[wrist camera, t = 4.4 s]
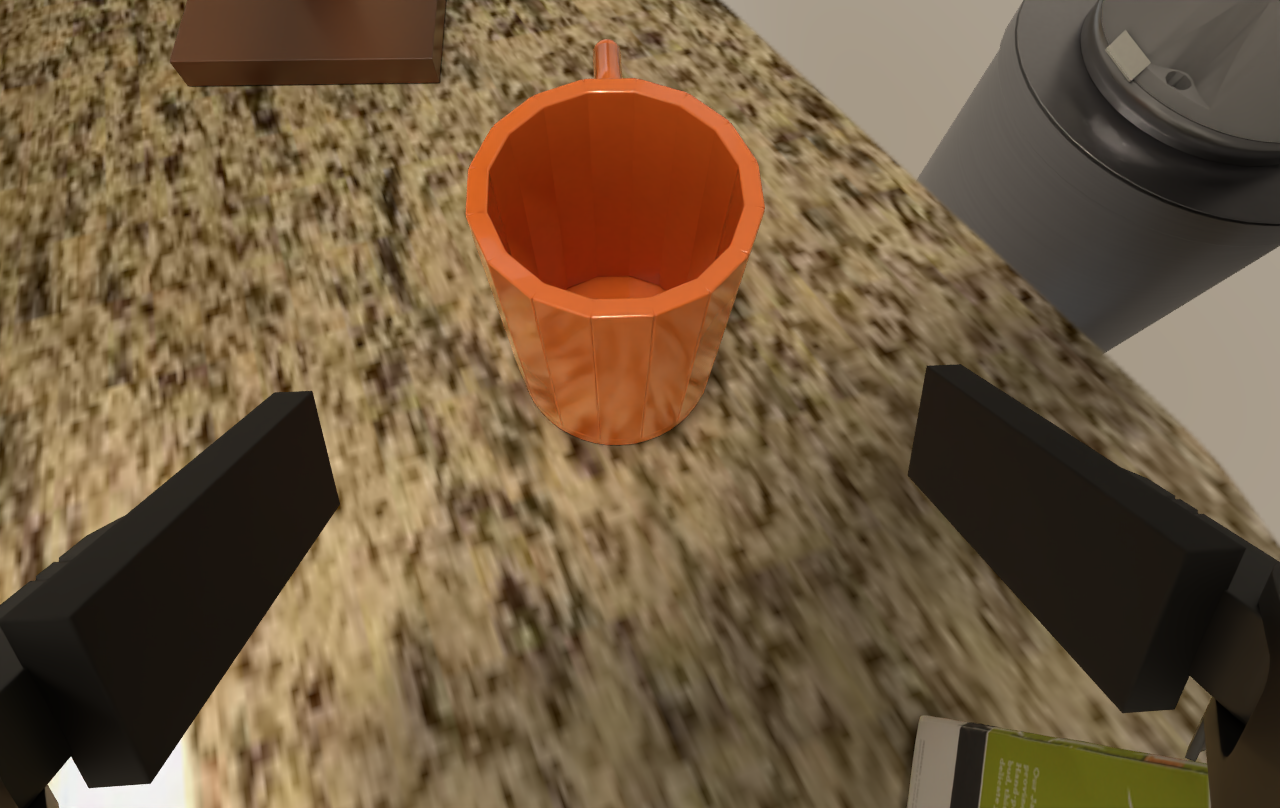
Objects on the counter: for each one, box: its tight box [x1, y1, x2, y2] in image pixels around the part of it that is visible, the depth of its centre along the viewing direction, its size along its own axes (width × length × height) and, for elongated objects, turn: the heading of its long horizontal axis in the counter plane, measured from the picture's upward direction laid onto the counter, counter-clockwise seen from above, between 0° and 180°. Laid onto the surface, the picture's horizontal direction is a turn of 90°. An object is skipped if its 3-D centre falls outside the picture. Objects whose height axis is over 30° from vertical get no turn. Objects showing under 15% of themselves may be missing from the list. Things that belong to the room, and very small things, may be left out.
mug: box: [466, 39, 765, 445], centre depth 24 cm, size 12×8×11 cm
